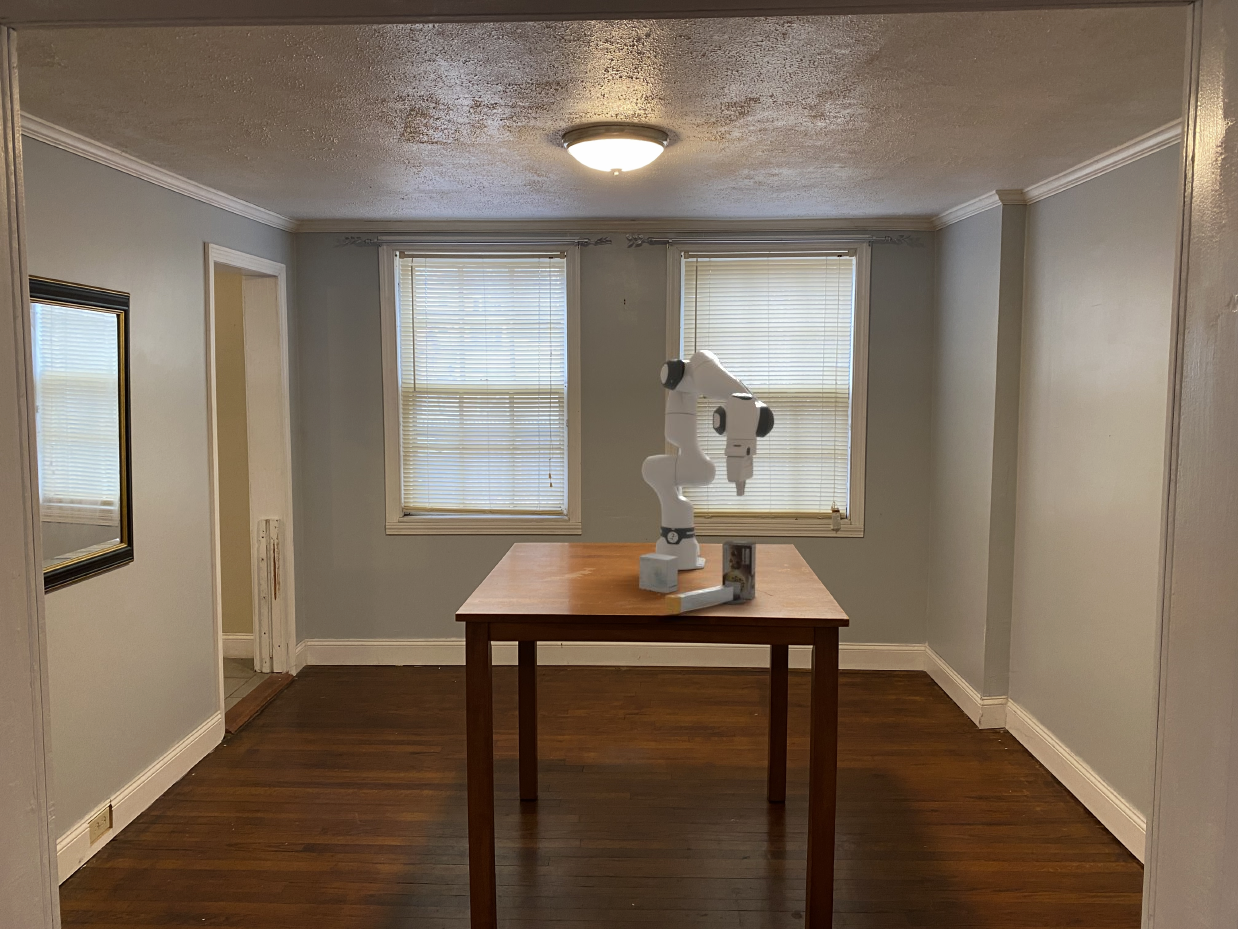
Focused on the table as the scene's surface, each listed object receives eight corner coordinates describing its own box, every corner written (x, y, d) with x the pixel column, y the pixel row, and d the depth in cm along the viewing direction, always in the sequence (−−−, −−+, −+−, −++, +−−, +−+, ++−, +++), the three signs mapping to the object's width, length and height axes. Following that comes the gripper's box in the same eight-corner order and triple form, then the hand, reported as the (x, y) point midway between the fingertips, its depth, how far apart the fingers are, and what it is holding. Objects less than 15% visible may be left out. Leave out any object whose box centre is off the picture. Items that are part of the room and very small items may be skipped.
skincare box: (638, 589, 273) (638, 555, 273) (650, 585, 278) (650, 552, 278) (666, 593, 267) (667, 559, 266) (678, 590, 272) (678, 556, 271)
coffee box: (755, 595, 266) (756, 541, 265) (751, 599, 260) (752, 545, 259) (725, 592, 269) (726, 540, 268) (721, 597, 263) (722, 543, 262)
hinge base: (723, 598, 261) (723, 595, 261) (747, 600, 259) (747, 597, 259) (717, 603, 255) (718, 600, 255) (742, 605, 252) (742, 602, 252)
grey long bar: (731, 596, 260) (732, 579, 259) (743, 599, 257) (743, 581, 256) (664, 611, 241) (664, 592, 241) (675, 614, 238) (676, 595, 238)
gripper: (738, 446, 272) (737, 491, 273) (722, 450, 253) (722, 498, 254) (758, 447, 270) (757, 492, 271) (744, 450, 251) (744, 499, 252)
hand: (740, 495), depth 262 cm, fingers closed
